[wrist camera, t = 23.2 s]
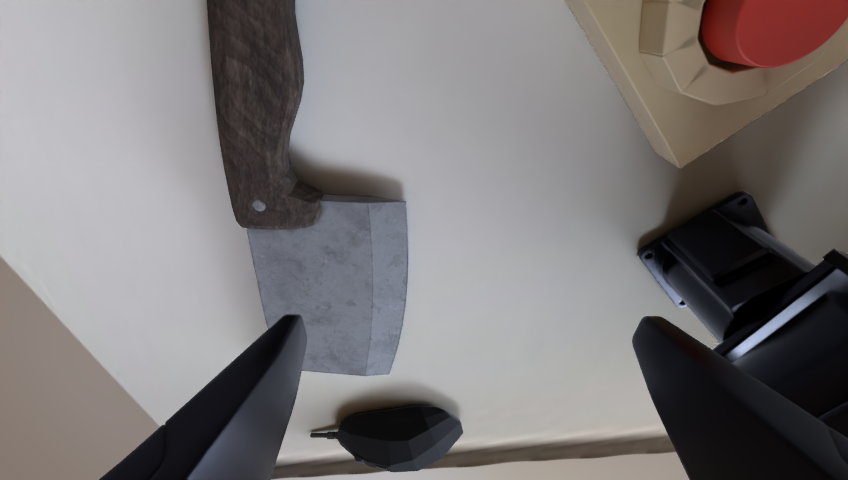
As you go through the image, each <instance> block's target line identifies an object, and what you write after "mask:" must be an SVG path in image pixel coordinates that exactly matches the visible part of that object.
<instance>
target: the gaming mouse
mask: <svg viewBox="0 0 848 480" xmlns="http://www.w3.org/2000/svg"><path fill="white" fill-rule="evenodd" d="M462 434H463V430H462V426H461V422H460V420H459V419H458V418H456V417H455V416H453V415H451V414H449V413H448V412H446V411H444V410H442V409H440V408H437V407H429V406H421V405H416V406H408V407H401V408H395V409H388V410H381V411H373V412H367V413H361V414H355V415H353V416H351V417H349V418H347V419H345V420H343V421H341V424H340V428H339V430H338V432H336V433H335V432H328V433H311V435H310V437H324V438H327V439H334V438H335V439H338V441H339V443H340V444H341V445H342V446H343V447H344V448H345V449H346V450H347V451H348V452H350V453H351V454H352V455H353V456H354V457H355V460H356V461H357V463H358V464H364V463H365V464H366V465H368V466H371V467H375V468H378V469H382V470H385V471H390V472H406V471H418V470H421V469H423V468H425V467H427V466H429V465H431V464H433V463H435V462H438V461H440V460H441V459H442V458H443V456H444V455H445V454H446V453H447V452H448V450H449V449H450V448H451V447H452V446H453V445H454V443H455V442H456V441H457V440H458V439H459V437H460V436H461V435H462Z"/></svg>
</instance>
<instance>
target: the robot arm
mask: <svg viewBox="0 0 848 480" xmlns="http://www.w3.org/2000/svg"><path fill="white" fill-rule="evenodd" d="M741 199H742V200H741ZM740 200H741V201H740ZM739 201H740V202H739ZM647 253H649V254H648V255H646V254H647ZM638 256H639V258H640V259H641V260H642V262H643V263H644V264H645V266H646V267H647V268H648V270H649V271H650V272H651V274H652V275H653V276H654V278H655V279H656V280H657V282H658V283H659V284H660V286H661V287H662V288H663V290H664V291H665V292H666V294H667V295H668V296H669V298H670V299H671V300H672V301H673V303H674V304H675V305H676V306H677V307H679V308H682V307H686V306H688V307H689V308H690V309H691V311H692V312H693V313H694V314H695V315H696V316H697V317H698V319H699V320H700V321H701V322H702V323H703V324H704V325H705V327H706V328H707V329H708V330H709V331H710V332H711V333H712V335H713V336H714V337H715V338H716V339H717V340H718V341H719V343H720V344H719V345H718V346H716V347H715V348H714V349H713V350H712V349H710V348H709V347H707V346H706V345H704V344H703V343H701V342H699V341H698V340H696V339H695V338H693V337H692V336H690V335H689V334H687V333H686V332H684V331H683V330H681V329H680V328H678V327H677V326H675V325H673V324H672V323H670V322H669V321H667V320H666V319H664V318H663V317H659V316H646V317H644V318H642V319H641V321H640V323H639V325H638V327H637V329H636V331H635V333H634V335H633V339H632V343H633V348H634V350H635V353H636V356H637V359H638V362H639V365H640V367H641V370H642V373H643V376H644V379H645V382H646V384H647V387H648V390H649V393H650V395H651V398H652V400H653V403H654V405H655V407H656V410H657V412H658V414H659V416H660V418H661V420H662V422H663V424H664V427H665V429H666V431H667V433H668V435H669V437H670V439H671V441H672V444H673V446H674V448H675V450H676V452H677V454H678V456H679V458H680V460H681V463H682V465H683V467H684V469H685V471H686V473H687V475H688V477H689V479H690V480H848V254H846V253H844V252H841V251H839V250H836V249H832V250H831V251H830V252H829V253H828V254H826V255H825V256H824V257H823V259H824V260H823V261H822V262H820V263H819V264H818V265H817V266H816V265H814V264H813V263H811V262H810V261H808V260H807V259H805V258H804V257H802V256H801V255H799V254H798V253H796V252H795V251H793V250H792V249H790V248H789V247H787V246H786V245H784V244H783V243H781V242H780V241H778V240H777V239H775V238H774V237H772V236H771V235H770V233H769V231H768V229H767V226H766V224H765V222H764V220H763V218H762V216H761V214H760V212H759V210H758V208H757V206H756V203H755V201H754V199H753V197H752V196H751V195H750V194H748V193H746V192H744V191H740V192H737V193H735V194H733V195H731V196H729V197H728V198H726V199H724V200H723V201H721V202H719V203H717V204H716V205H714V206H712V207H711V208H709V209H707V210H706V211H704V212H702V213H700V214H699V215H697V216H695V217H694V218H692V219H690V220H688V221H687V222H685V223H683V224H682V225H680V226H678V227H677V228H675V229H673V230H671V231H670V232H668V233H666V234H665V235H663V236H661V237H659V238H658V239H656V240H654V241H653V242H651V243H649V244H648V245H646V246H644V247H642V248H641V249H640V250H639V252H638ZM306 346H307V333H306V329H305V326H304V322H303V318H302V316H301V315H299V314H286V315H284V316H282V317H281V318H280V319H279V320H278V321H277V322H276V323H275V324H273V325H272V326H271V327H270V328H269V329H268V330H267V331H266V332H265V333H264V334H262V335H261V336H260V337H259V338H258V339H257V340H256V341H255V342H254V343H252V344H251V345H250V346H249V347H248V348H247V349H246V350H245V351H244V352H243V353H241V354H240V355H239V356H238V357H237V358H236V359H235V360H234V361H233V362H232V363H230V364H229V365H228V366H227V367H226V368H225V369H224V370H223V371H222V372H220V373H219V374H218V375H217V376H216V377H215V378H214V379H213V380H212V381H211V382H209V383H208V384H207V385H206V386H205V387H204V388H203V389H202V390H201V391H199V392H198V393H197V394H196V395H195V396H194V397H193V398H192V399H191V400H190V401H188V402H187V403H186V404H185V405H184V406H183V407H182V408H181V409H180V410H178V411H177V412H176V413H175V414H174V415H173V416H172V417H171V418H170V419H169V420H167V421H166V423H165V425H162V426H161V427H160V428H158V430H156V431H155V432H154V433H153V434H152V435H151V436H150V437H148V438H147V439H146V440H145V441H144V442H143V443H142V444H141V445H139V446H138V447H137V448H136V449H135V450H134V451H133V452H131V453H130V454H129V455H128V456H127V457H126V458H125V459H123V461H121V462H120V463H119V464H117V465H116V466H115V467H114V468H113V469H111V470H110V471H109V472H108V473H107V474H105V475H104V476H103V477H102V478H100V479H99V480H270V478H271V475H272V472H273V469H274V466H275V463H276V460H277V456H278V453H279V450H280V447H281V444H282V441H283V438H284V435H285V432H286V428H287V425H288V422H289V419H290V416H291V413H292V410H293V406H294V403H295V399H296V395H297V391H298V386H299V381H300V376H301V371H302V366H303V361H304V356H305V351H306Z"/></svg>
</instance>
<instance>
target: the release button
mask: <svg viewBox="0 0 848 480" xmlns="http://www.w3.org/2000/svg"><path fill="white" fill-rule="evenodd" d="M847 18H848V0H708V2H707V5H706V8H705V11H704V15H703V21H702V35H703V40H704V43H705V45H706V47H707V49H708V50H709V51H710V52H711V54H712V55H714V56H715V57H717V58H719V59H721V60H724V61H728V62H733V63H739V64H744V65H749V66H754V67H760V68H775V67H780V66H784V65H787V64H790V63H793V62H795V61H798V60H800V59H801V58H803V57H805V56H807V55H809V54H810V53H812V52H813V51H815V50H816V49H817V48H819V47H820V46H822V45H823V44H824V43H825V42H826V41H827V40H829V39H830V38H831V37H832V36H833V35H834V34H835V33H836V32H837V31H838V29H839V28H840V27H841V26H842V25H843V24H844V22H845V21H846V20H847Z"/></svg>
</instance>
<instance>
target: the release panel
mask: <svg viewBox="0 0 848 480" xmlns="http://www.w3.org/2000/svg"><path fill="white" fill-rule="evenodd" d="M565 2H566V3H567V5H568V7H569V8H570V10H571V12H572V13H573V15H574V17H575V18H576V20H577V22H578V23H579V25H580V27H581V28H582V30H583V32H584V33H585V35H586V37H587V38H588V40H589V42H590V43H591V45H592V47H593V48H594V50H595V52H596V53H597V55H598V57H599V58H600V60H601V62H602V63H603V65H604V67H605V68H606V70H607V72H608V73H609V75H610V77H611V78H612V80H613V82H614V83H615V85H616V87H617V88H618V90H619V92H620V94H621V95H622V97H623V99H624V100H625V102H626V104H627V105H628V107H629V109H630V110H631V112H632V114H633V115H634V117H635V119H636V120H637V122H638V124H639V125H640V127H641V129H642V130H643V132H644V134H645V135H646V137H647V139H648V140H649V142H650V144H651V145H652V147H653V149H654V150H655V152H656V153H657V154H658V155H660V156H661V157H663V158H665V159H666V160H668V161H669V162H671V163H672V164H674V165H675V166H677V167H679V168H682V167H684V166H685V165H687V164H688V163H690V162H692V161H693V160H695V159H696V158H698V157H699V156H701V155H702V154H704V153H705V152H707V151H709V150H710V149H712V148H713V147H715V146H716V145H718V144H719V143H721V142H722V141H724V140H726V139H727V138H729V137H730V136H732V135H733V134H735V133H736V132H738V131H739V130H741V129H743V128H744V127H746V126H747V125H749V124H750V123H752V122H753V121H755V120H756V119H758V118H760V117H761V116H763V115H764V114H766V113H767V112H769V111H770V110H772V109H773V108H775V107H777V106H778V105H780V104H781V103H783V102H784V101H786V100H787V99H789V98H790V97H792V96H794V95H795V94H797V93H798V92H800V91H801V90H803V89H804V88H806V87H807V86H809V85H811V84H812V83H814V82H815V81H817V80H818V79H820V78H821V77H823V76H824V75H826V74H828V73H829V72H831V71H832V70H834V69H835V68H837V67H838V66H840V65H841V64H843V63H845V62H846V61H848V18H847V20H846V21H845V22H844V24H843V25H842V26H841V27H840V28H839V29H838V31H837V32H836V33H835V34H834V35H833V36H832V37H831V38H830V39H829V40H827V41H826V42H825V43H824V44H823V45H822V46H820V47H819V48H817V49H816V50H815V51H813V52H812V53H810V54H809V55H807V56H805V57H803V58H801V59H800V60H798V61H795V62H793V63H790V64H787V65H784V66H780V67H775V68H760V67H754V66H749V65H744V64H739V63H733V62H728V61H724V60H721V59H719V58H717V57H715V56H714V55H712V54H711V52H710V51H709V50H708V49H707V47H706V45H705V43H704V40H703V35H702V21H703V15H704V11H705V8H706V5H707V2H708V0H565Z"/></svg>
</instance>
